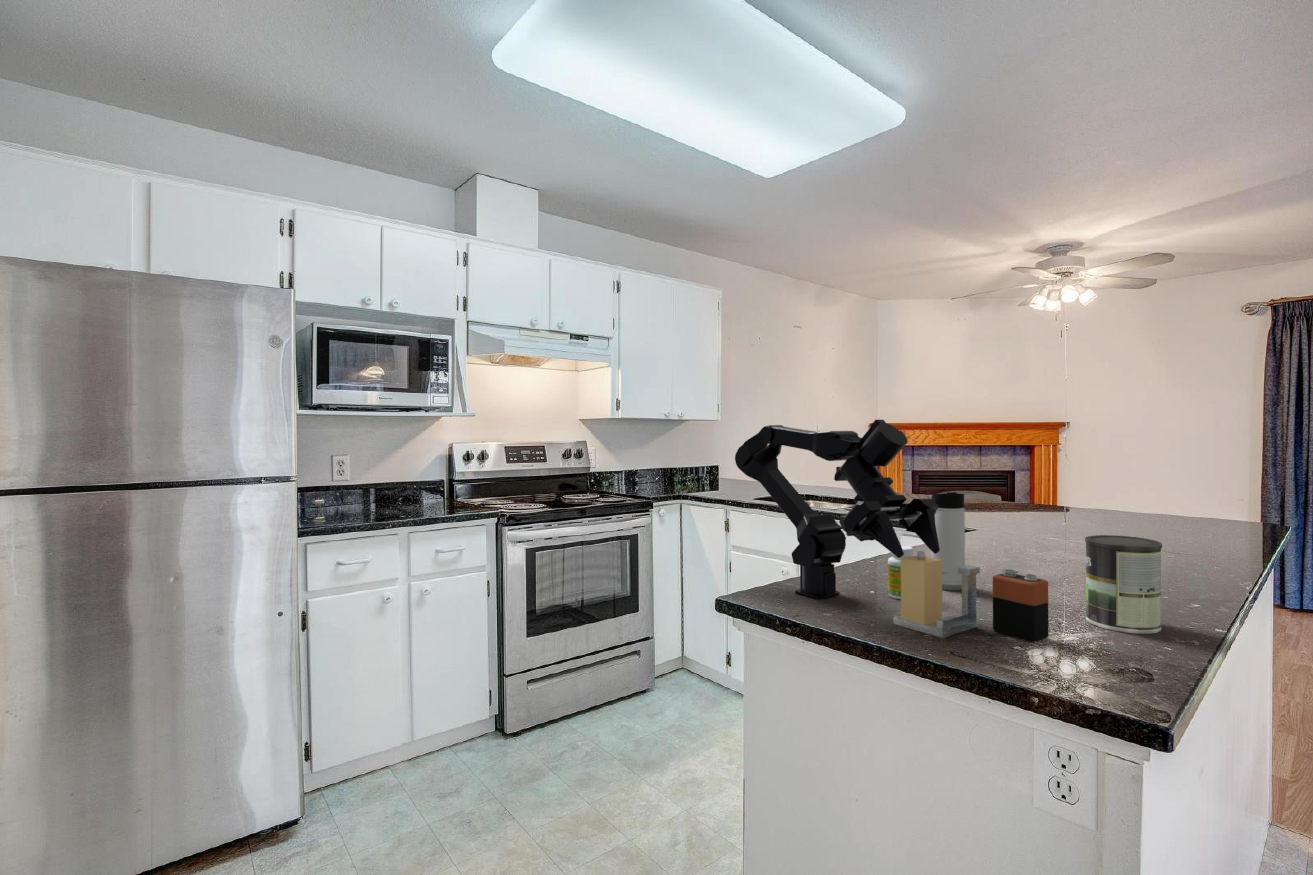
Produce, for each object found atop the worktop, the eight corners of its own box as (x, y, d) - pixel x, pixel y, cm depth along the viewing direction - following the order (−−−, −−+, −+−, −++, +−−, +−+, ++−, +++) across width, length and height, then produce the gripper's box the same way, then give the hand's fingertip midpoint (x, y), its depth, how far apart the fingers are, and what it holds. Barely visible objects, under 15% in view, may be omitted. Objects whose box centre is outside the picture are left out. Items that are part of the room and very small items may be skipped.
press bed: (893, 623, 107) (892, 564, 107) (927, 614, 112) (927, 558, 112) (945, 638, 99) (945, 575, 99) (980, 627, 104) (979, 567, 104)
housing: (901, 617, 106) (900, 551, 106) (919, 613, 109) (918, 548, 108) (924, 624, 102) (923, 555, 102) (942, 620, 105) (941, 552, 105)
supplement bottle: (884, 597, 124) (884, 548, 123) (891, 591, 128) (891, 544, 128) (913, 601, 121) (913, 550, 120) (919, 595, 125) (919, 546, 125)
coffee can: (1078, 625, 105) (1078, 540, 105) (1093, 612, 113) (1092, 533, 112) (1157, 638, 98) (1156, 548, 98) (1166, 624, 105) (1166, 539, 105)
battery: (1007, 627, 105) (1007, 566, 105) (1049, 638, 99) (1049, 574, 99) (991, 631, 103) (991, 569, 103) (1033, 643, 97) (1032, 577, 97)
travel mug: (936, 590, 128) (936, 492, 128) (928, 583, 135) (927, 489, 135) (969, 591, 127) (969, 492, 127) (959, 584, 134) (959, 489, 134)
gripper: (878, 509, 125) (925, 576, 116) (808, 513, 116) (853, 586, 106) (913, 472, 118) (966, 539, 109) (841, 473, 109) (893, 547, 99)
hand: (919, 554), depth 106 cm, fingers open, 9 cm apart
